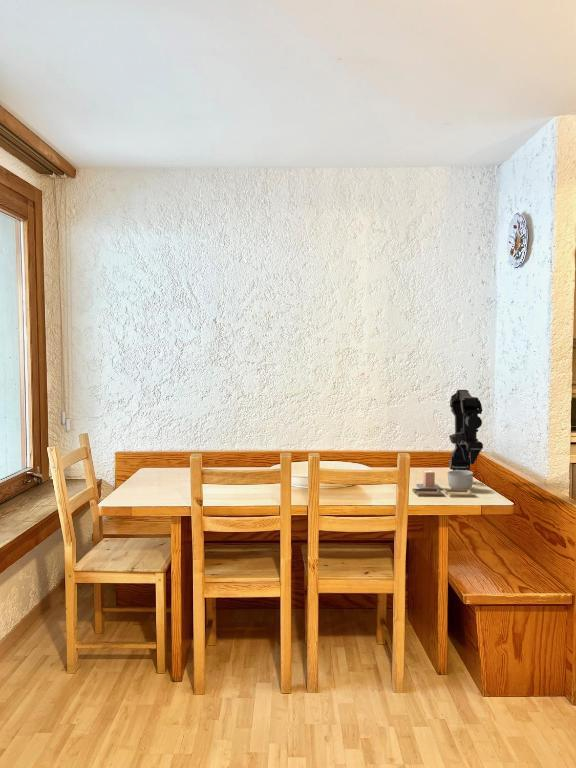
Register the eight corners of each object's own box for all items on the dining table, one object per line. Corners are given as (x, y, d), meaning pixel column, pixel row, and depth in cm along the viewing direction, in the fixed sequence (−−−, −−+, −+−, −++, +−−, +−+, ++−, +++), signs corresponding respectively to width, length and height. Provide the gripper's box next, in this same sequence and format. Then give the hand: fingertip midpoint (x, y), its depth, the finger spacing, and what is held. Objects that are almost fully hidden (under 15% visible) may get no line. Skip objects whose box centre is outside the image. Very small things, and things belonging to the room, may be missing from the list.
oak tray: (442, 492, 284) (442, 489, 284) (468, 492, 284) (468, 489, 284) (449, 498, 273) (449, 494, 273) (476, 498, 273) (476, 494, 273)
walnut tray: (412, 492, 285) (412, 488, 285) (437, 492, 285) (437, 488, 285) (418, 497, 274) (418, 494, 274) (444, 497, 274) (444, 494, 274)
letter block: (423, 485, 292) (423, 470, 292) (432, 485, 292) (432, 470, 292) (425, 486, 288) (425, 472, 288) (434, 486, 288) (434, 472, 288)
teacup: (473, 493, 284) (473, 474, 283) (447, 491, 286) (448, 473, 286) (471, 486, 297) (471, 469, 297) (446, 485, 300) (446, 467, 299)
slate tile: (416, 487, 295) (416, 483, 295) (436, 487, 295) (436, 484, 295) (420, 491, 286) (421, 488, 286) (441, 491, 286) (441, 488, 286)
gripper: (445, 423, 293) (444, 458, 293) (457, 428, 274) (456, 466, 275) (470, 424, 293) (469, 459, 294) (483, 429, 274) (482, 466, 275)
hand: (469, 462), depth 284 cm, fingers open, 9 cm apart
